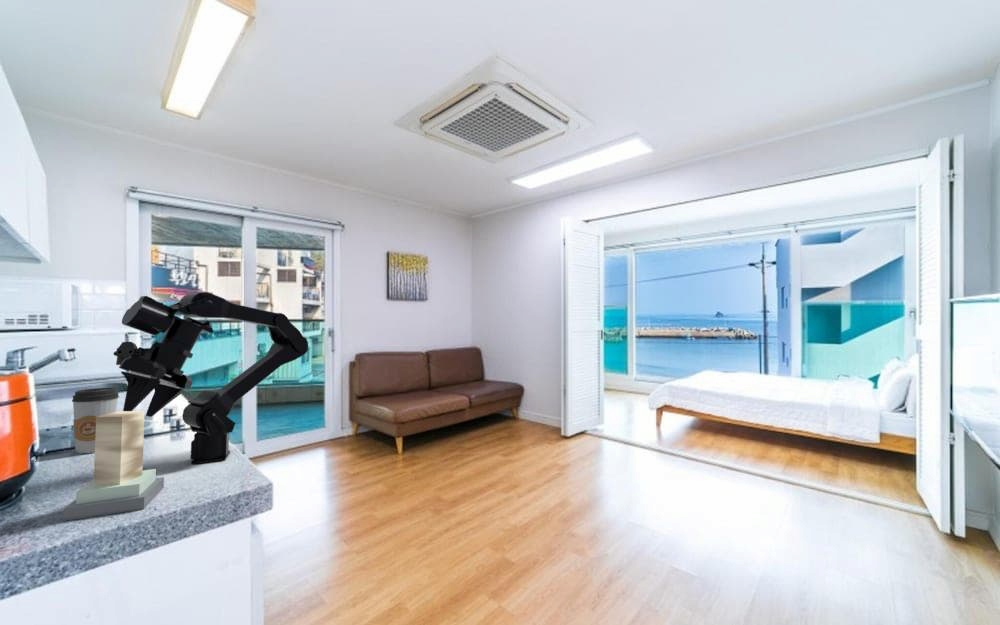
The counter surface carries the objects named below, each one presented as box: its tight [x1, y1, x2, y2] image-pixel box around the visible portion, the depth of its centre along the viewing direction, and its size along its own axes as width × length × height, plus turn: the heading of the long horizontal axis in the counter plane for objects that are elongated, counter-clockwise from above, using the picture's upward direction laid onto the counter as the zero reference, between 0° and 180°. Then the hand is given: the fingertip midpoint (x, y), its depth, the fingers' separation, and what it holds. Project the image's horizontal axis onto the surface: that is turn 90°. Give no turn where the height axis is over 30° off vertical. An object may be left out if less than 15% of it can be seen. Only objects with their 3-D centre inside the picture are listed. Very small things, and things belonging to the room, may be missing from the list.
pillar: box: [93, 410, 146, 485], centre depth 71 cm, size 4×4×12 cm
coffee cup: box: [71, 387, 120, 454], centre depth 100 cm, size 8×8×15 cm
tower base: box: [63, 468, 165, 522], centre depth 70 cm, size 10×10×4 cm
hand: (138, 414), depth 82 cm, fingers open, 9 cm apart
